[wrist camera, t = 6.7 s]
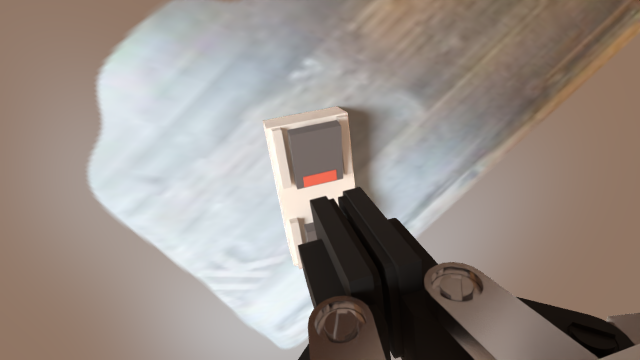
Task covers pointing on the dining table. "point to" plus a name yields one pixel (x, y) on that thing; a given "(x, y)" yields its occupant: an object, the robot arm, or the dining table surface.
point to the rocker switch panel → (290, 197)
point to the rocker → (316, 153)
